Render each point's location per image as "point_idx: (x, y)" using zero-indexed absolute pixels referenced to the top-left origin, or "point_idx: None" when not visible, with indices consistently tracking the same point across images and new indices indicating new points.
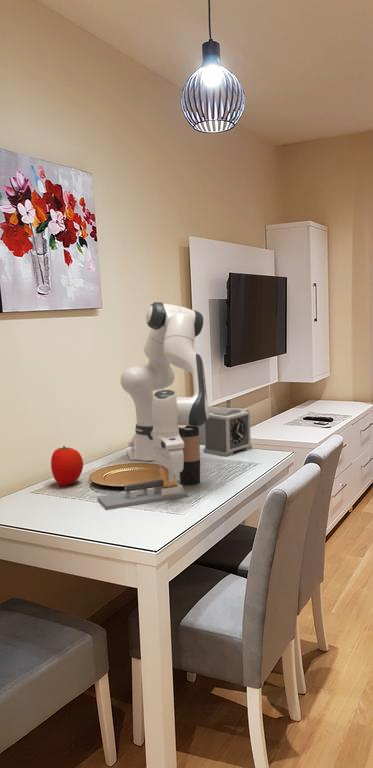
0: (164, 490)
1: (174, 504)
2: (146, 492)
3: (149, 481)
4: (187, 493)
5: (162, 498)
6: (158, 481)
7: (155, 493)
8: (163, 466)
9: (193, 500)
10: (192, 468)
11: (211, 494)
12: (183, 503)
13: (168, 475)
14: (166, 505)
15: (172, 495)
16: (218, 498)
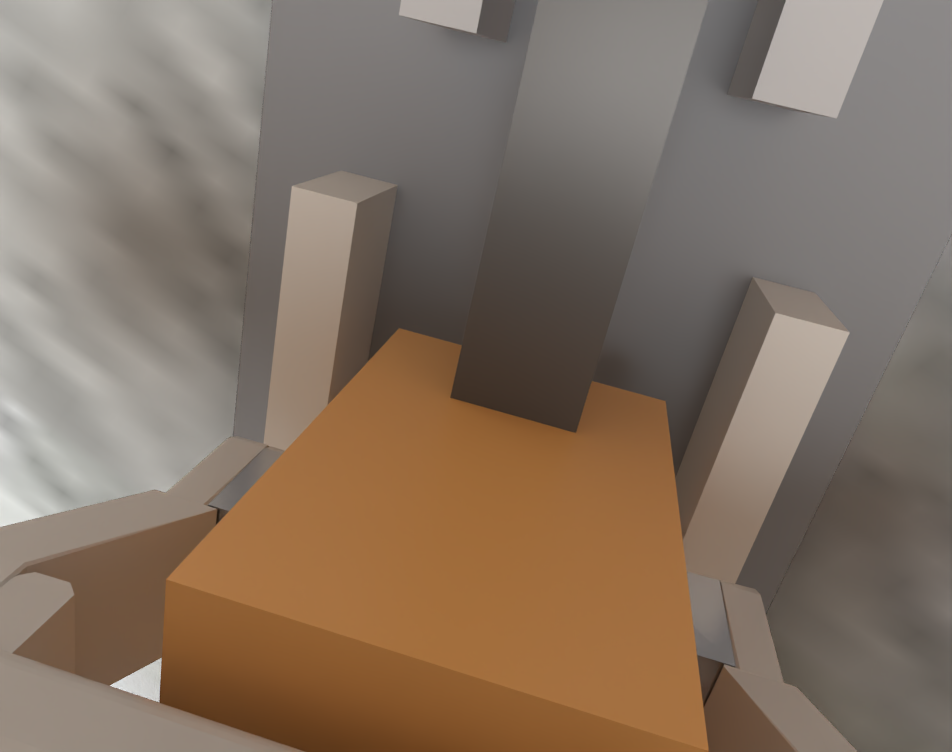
0: (294, 237)
1: (36, 162)
2: (753, 17)
3: (683, 62)
4: None
5: (272, 117)
6: (477, 276)
7: None
8: (243, 737)
9: (74, 464)
10: None
11: None
12: (21, 292)
13: (149, 514)
14: (46, 24)
15: (249, 317)
16: None
